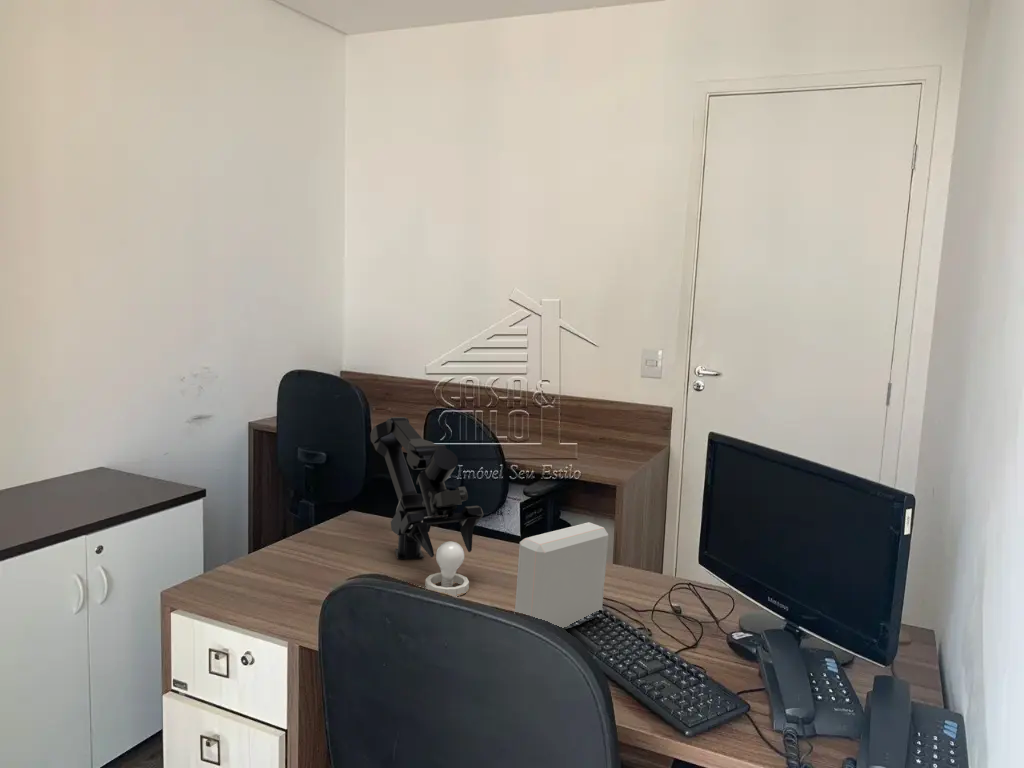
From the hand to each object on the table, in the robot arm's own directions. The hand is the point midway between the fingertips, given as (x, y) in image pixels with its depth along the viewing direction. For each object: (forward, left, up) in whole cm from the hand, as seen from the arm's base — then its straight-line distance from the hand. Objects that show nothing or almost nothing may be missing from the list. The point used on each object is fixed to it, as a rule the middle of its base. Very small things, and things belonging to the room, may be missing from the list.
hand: (451, 553), depth 168 cm
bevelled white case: (+19, +19, -9) cm, 28 cm away
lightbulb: (-2, 0, -9) cm, 9 cm away
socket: (-1, 0, -9) cm, 9 cm away
